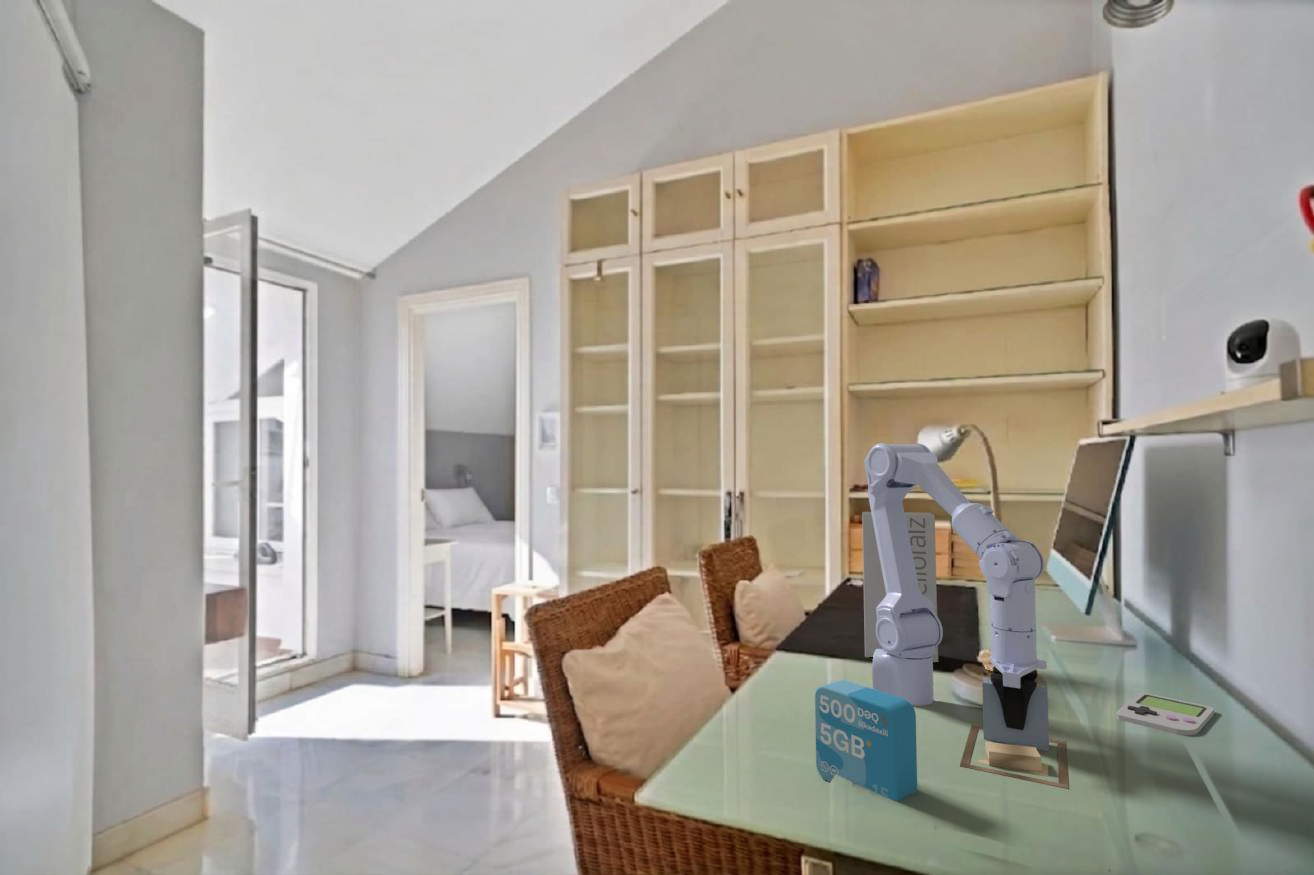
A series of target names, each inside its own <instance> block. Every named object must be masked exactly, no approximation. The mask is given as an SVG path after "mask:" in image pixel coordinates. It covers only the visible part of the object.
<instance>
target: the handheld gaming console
mask: <svg viewBox="0 0 1314 875" xmlns="http://www.w3.org/2000/svg"><path fill="white" fill-rule="evenodd" d="M1214 715H1215V708H1214V707H1212V706H1209V705H1205V704H1200V703H1195V702H1191V701H1185V700H1182V699H1176V698H1171V697H1167V696H1161V695H1157V694H1153V693H1148V692H1139V693H1138V694H1136V695H1135V696H1134V697H1133V698H1131V699H1130V700H1129V701H1128V702H1127V703H1125V704H1124V705H1122V706H1121V707H1120V708H1119V709H1118V710H1116V712H1115V719H1117V720H1119V721H1123V722H1127V723H1131V724H1134V725H1138V726H1143V727H1146V728H1149V729H1150V728H1151V729H1155V730H1158V731H1163V732H1166V733H1171V734H1175V735H1178V736H1179V735H1181V736H1195V735H1197V734H1199V733H1200V732H1201V730H1202V729H1203V728H1204V727H1205V726H1206V725H1207V723H1208V722H1209V721H1210V720H1211V719H1212V717H1214Z"/></svg>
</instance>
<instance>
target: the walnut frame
mask: <svg viewBox="0 0 1314 875" xmlns="http://www.w3.org/2000/svg"><path fill="white" fill-rule="evenodd" d="M979 730H983V726H981V725H976V724H971V726H970V729H969V733H968V736H967V740H966V744H965V746H964V749H963V752H962V757H961V760H960V764H959V767H962V768H965V769H969V770H975V771H980V772H985V773H990V774H994V775H999V776H1004V777H1008V778H1014V779H1017V780H1018V779H1019V780H1024V781H1027V782H1033V783H1038V784H1042V785H1046V786H1051V787H1057V788H1059V789H1066V790H1069V773H1068V772H1069V771H1068V759H1067V758H1068V757H1067V741H1066V740H1060V739H1055V738H1050V737H1049V743H1054V744H1055V743H1056V744H1057V771H1058V772H1057V774H1058V775H1057V776H1058V782H1056V781H1055V782H1054V781H1052V780H1046V779H1042V778H1036V777H1031V776H1027V775H1022V774H1016V773H1012V772H1007V771H1002V770H998V769H993V768H988V767H983V766H978V765H973V764H970V763H971V758H972V755H973V751H974V747H975V743H976V739H977V736H978V732H979Z"/></svg>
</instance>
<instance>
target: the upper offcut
mask: <svg viewBox="0 0 1314 875" xmlns="http://www.w3.org/2000/svg"><path fill="white" fill-rule="evenodd" d="M984 745H985V757H986V760H988V763H989V765H988V766H991V767H1000V768H1003V767H1006V768H1005V769H1008V768H1014V769H1022V770H1030V771H1038V772H1042V767H1041V764H1042V757H1041V755H1040V752H1039V751H1038V749H1036V747H1027V746H1019V745H1012V744H1007V743H1001V742H993V741H991V742H990V741H985V744H984Z"/></svg>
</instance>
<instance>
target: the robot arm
mask: <svg viewBox="0 0 1314 875" xmlns="http://www.w3.org/2000/svg"><path fill="white" fill-rule="evenodd" d="M863 464H864V469H865V474H866V480H867V486H868V489H867V490H868V491H867V494H868V495H867V498H868V503H869V507H870V512H871V514H872V519H873V525H874V530H875V535H876V541H877V546H878V552H879V557H880V563H881V568H882V574H883V579H884V585H885V590H886V597H885V598H884V599H883V600H882V602H881V603H880V604H879V605H878V606H877V608H876V614H877V623H876V636H877V639H878V642H879V643H880V645H881V647H882V648H883V649H876V650H875V652H874V655H873V658H872V665H871V666H872V667H871V670H872V673H871V674H872V689H875V690H878V691H881V692H884V693H888V694H891V695H894V696H897V697H900V698H903V699H906V700H907V701H909V702H910V703H911V705H912V706H913V707H914V706H915V707H917V706H918V707H922V706H928V705H932V704H933V703H934V702H940V700H939V699H937V698H935V696H934V664H933V663H934V662H933V655H932V654H933V653H936V649H935V647H936V646H937V645H938V646H939V645H940V644H941V642H942V640H943V636H944V635H943V634H944V633H943V632H944V631H943V630H944V629H943V625H942V622H941V620H940V618H939V617H938V614H937V615H936V613H935V611H934V606H933V603H932V602H931V601H930V600H929V599H928V598H927V597H925V596H924V595H923V594H922V593H921V592H920V590H919V584H918V579H917V574H916V569H915V564H914V559H913V554H912V549H911V544H910V539H909V533H908V528H907V523H906V518H905V513H906V512H905V510H904V504H903V501H904V499H905V498H906V497H907V495H908V493H910V492H911V491H912V490H914V489H915V488H916V487H917V486H919V487H920V488H921V489H922V490H923V491H924V492H925V493H926V494H927V495H928V496H929V497H930V498H932V499H933V500H934V501H935V503H937V504H938V505H939V506H940V507H941V508H942V509H943V510H944V511H945V512H947V513H948V514H949V515H950V516H951V528H952V530H953V531H954V532H955V533H956V534H957V535H958V536H959V537H960V538H961V540H962V541H963V542H964V543H965V544H966V545H967V546H968V547H969V548H970V549H971V551H973V553H974V555H976V556H977V557H978V558H979V560H978V565H979V570H980V572H981V574H982V575H983V577H984V578H985V580H986V590H987V591H988V594H989V613H990V615H989V620H990V655H989V662H990V664H992V666H993V667H992V673H991V674H990V679H991V682H992V684H993V686H994V687H995V689H996V691H997V694H998V696H999V699H1000V702H1001V707H1002V711H1003V716H1004V720H1005V724H1006V726H1007V728H1012V729H1018V730H1023V729H1024V726H1025V722H1026V715H1027V709H1028V704H1029V701H1030V698H1031V696H1032V694H1033V692H1034V690H1035V688H1036V686H1038V681H1036V679H1037V677H1038V669H1041V670H1046V669H1048V667H1047V665H1048V664H1047V661H1046V660H1042V659H1038V652H1037V651H1038V650H1037V649H1038V648H1037V647H1038V645H1037V616H1036V615H1037V614H1036V611H1037V610H1036V609H1037V608H1036V607H1037V606H1036V605H1037V604H1036V580H1037V579H1038V578H1040V577H1041V575H1042V574H1043V572H1044V567H1045V562H1044V557H1043V554H1042V552H1041V551H1040V549H1039V548H1038V547H1037V545H1036V544H1035V543H1034V542H1032V541H1030V540H1027V539H1020V538H1018V537H1017V535H1016V534H1015V532H1013V531H1012V530H1009V529H1008V528H1007V527H1006V526H1005V525H1004V524H1003V523H1002V522H1001V521H1000V520H999V519H998V518H997V517H996V516H995V515H994V510H993V509H992V508H991V506H990V505H984V504H983V503H980V502H979V503H978V502H973V503H972V502H970V500H968V498H967V497H966V496H965V495H964V493H963V492H962V491H961V489H959V487H958V486H957V485H956V484H955V482H953V481H952V479H951V478H950V477H949V476H948V474H947V473H946V472H945V471H944V470H943V468H942V467H941V466H940V465H939V462H938V455H936V454H934V453H933V452H931V450H930V448H928V446H926V445H925V444H923V443H912V444H910V443H909V444H906V443H905V444H903V443H902V444H900V443H899V444H898V443H897V444H893V443H892V444H890V443H889V444H888V443H883V442H881V443H877V444H874V445H873V446H872V447H871V449H870V450H869V452H868V454H867V455H866V458H865V459H864V461H863ZM904 610H910V611H911V612H907V613H901V612H902V611H904Z"/></svg>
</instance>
